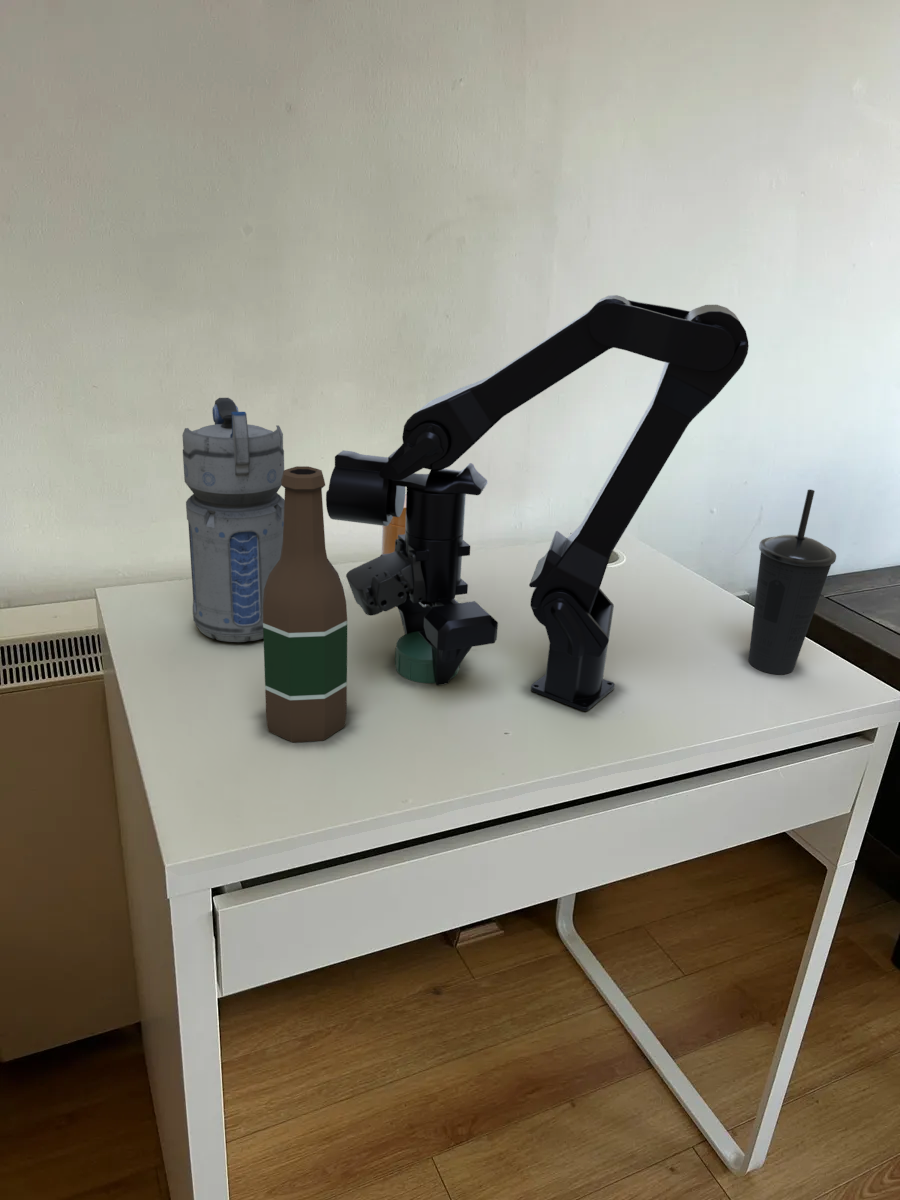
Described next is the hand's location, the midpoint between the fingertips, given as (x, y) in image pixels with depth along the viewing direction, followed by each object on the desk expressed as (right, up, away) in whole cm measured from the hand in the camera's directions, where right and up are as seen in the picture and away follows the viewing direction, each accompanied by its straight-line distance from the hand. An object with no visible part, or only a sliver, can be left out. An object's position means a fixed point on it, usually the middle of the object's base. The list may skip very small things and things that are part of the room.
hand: (427, 670), depth 95 cm
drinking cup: (+38, 0, +5) cm, 38 cm away
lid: (0, +2, -1) cm, 3 cm away
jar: (-4, +10, +20) cm, 23 cm away
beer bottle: (-11, -4, -11) cm, 16 cm away
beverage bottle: (-21, +5, +7) cm, 23 cm away
